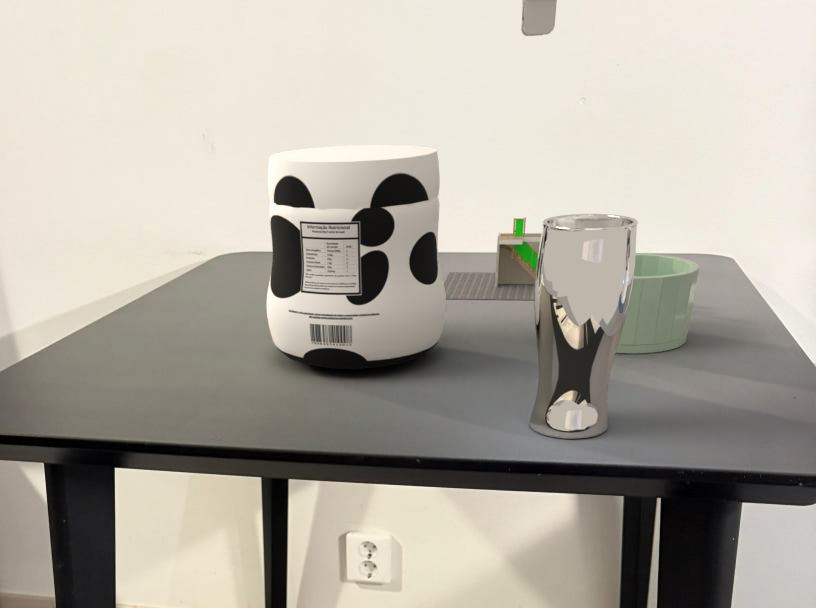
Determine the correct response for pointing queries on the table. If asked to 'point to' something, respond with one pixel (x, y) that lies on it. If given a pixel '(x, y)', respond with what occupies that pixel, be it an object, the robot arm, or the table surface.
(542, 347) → the beer glass
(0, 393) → the table surface
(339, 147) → the milk container
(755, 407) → the table surface
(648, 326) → the ceramic cup
